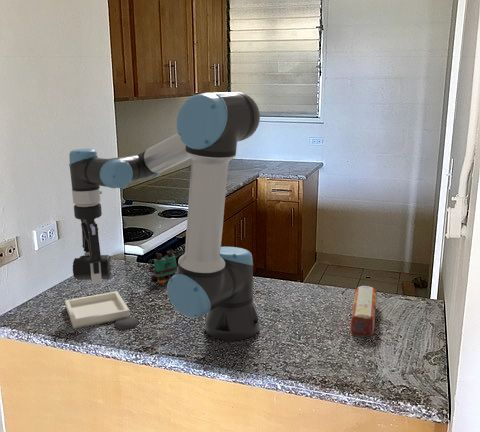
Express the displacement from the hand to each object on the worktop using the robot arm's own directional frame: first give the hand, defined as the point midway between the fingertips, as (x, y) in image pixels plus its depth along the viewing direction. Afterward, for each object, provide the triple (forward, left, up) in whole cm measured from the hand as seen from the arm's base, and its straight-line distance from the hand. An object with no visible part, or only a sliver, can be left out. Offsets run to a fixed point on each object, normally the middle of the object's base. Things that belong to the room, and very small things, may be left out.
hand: (93, 277), depth 155 cm
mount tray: (0, 0, -11) cm, 11 cm away
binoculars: (+18, -26, -11) cm, 34 cm away
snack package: (-41, -68, -12) cm, 80 cm away
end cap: (0, 0, -1) cm, 1 cm away
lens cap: (-12, -6, -12) cm, 18 cm away
